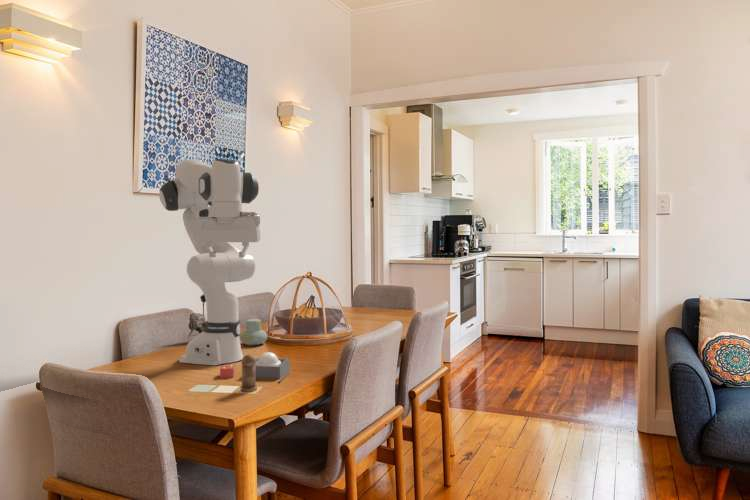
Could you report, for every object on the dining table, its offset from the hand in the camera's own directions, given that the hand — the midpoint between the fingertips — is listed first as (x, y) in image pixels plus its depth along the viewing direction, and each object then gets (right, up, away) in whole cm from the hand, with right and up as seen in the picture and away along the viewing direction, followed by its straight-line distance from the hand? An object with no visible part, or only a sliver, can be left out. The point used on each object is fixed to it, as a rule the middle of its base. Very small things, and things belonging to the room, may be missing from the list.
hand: (227, 257), depth 172 cm
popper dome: (+11, -37, +8) cm, 39 cm away
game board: (+2, -39, -9) cm, 40 cm away
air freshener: (-5, -37, +60) cm, 70 cm away
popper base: (+11, -39, +8) cm, 41 cm away
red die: (-2, -39, +6) cm, 39 cm away
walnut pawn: (+9, -38, -10) cm, 40 cm away
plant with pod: (-28, -37, +66) cm, 80 cm away
